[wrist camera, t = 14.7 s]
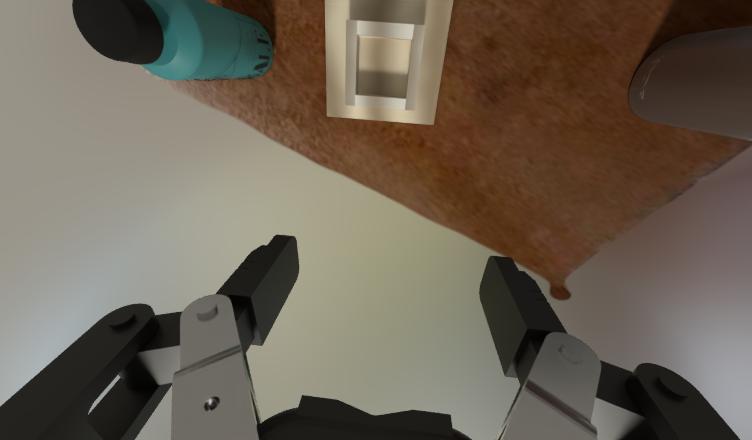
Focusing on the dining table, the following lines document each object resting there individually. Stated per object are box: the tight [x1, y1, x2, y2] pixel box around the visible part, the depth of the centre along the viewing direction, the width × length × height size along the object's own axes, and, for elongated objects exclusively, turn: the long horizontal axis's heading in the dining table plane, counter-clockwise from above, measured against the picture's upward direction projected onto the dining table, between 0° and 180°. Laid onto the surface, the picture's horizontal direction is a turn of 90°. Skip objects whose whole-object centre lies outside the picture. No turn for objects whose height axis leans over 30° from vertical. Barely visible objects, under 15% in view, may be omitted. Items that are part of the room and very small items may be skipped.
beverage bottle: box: [72, 0, 273, 81], centre depth 25 cm, size 6×7×20 cm
